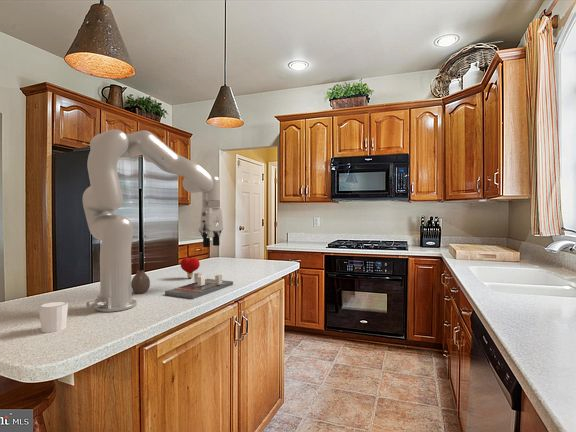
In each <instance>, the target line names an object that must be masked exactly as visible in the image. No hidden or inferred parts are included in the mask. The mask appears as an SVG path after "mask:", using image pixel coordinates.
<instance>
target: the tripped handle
mask: <svg viewBox="0 0 576 432" xmlns="http://www.w3.org/2000/svg"><path fill="white" fill-rule="evenodd" d="M205 279H206V277H205V275H202V276H197V285H200V286H202V285H205Z"/></svg>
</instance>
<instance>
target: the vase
mask: <svg viewBox="0 0 576 432" xmlns="http://www.w3.org/2000/svg"><path fill="white" fill-rule="evenodd" d="M131 283H132V291H133V292H134V293H135V294H137V295H138V294H139V295H140V294H142V295H143V294H146V293H147V292H148V291H149V289H150V287H151V281H150V277H149V276H148V275H147V273H146V272H145V271H144V270H142V269H141V270H137V271H136V273H135V275H134V276H133V277H132V278H131Z"/></svg>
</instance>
